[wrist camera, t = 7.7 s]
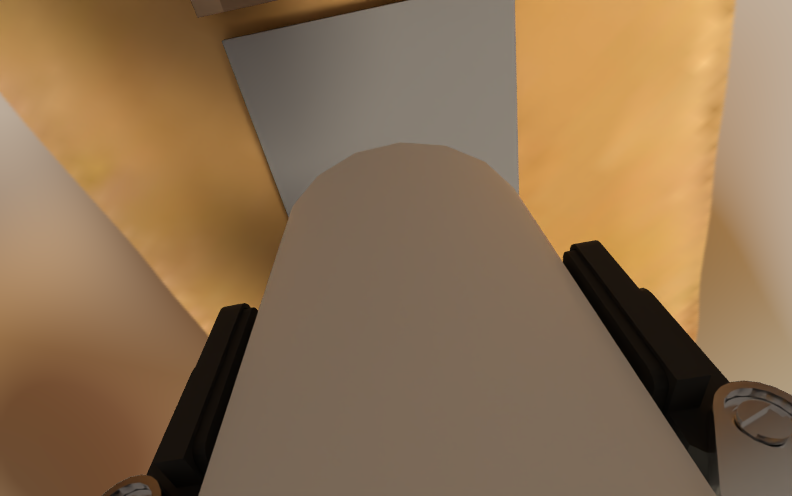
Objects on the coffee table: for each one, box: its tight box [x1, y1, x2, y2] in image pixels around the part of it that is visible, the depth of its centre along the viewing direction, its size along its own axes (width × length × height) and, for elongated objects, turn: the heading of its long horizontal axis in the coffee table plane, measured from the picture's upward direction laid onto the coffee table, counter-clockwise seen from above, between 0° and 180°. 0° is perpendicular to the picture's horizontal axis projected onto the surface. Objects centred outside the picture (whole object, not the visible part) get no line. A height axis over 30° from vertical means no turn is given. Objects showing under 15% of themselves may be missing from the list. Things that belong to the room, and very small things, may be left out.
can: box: [199, 142, 716, 496], centre depth 8 cm, size 8×8×12 cm
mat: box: [222, 0, 519, 217], centre depth 20 cm, size 12×12×1 cm
